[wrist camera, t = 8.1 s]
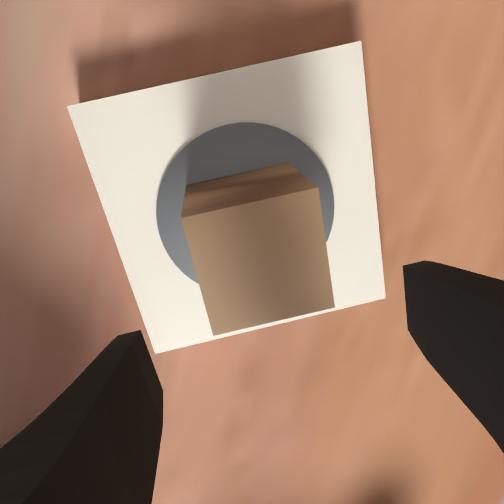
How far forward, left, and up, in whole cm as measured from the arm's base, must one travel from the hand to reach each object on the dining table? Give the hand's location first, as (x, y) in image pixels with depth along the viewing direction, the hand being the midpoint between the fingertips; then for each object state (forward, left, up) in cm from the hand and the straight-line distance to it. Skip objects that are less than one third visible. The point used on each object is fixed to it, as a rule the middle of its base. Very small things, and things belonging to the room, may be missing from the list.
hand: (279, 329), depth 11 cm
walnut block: (0, 0, -8) cm, 8 cm away
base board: (0, +1, -10) cm, 10 cm away
